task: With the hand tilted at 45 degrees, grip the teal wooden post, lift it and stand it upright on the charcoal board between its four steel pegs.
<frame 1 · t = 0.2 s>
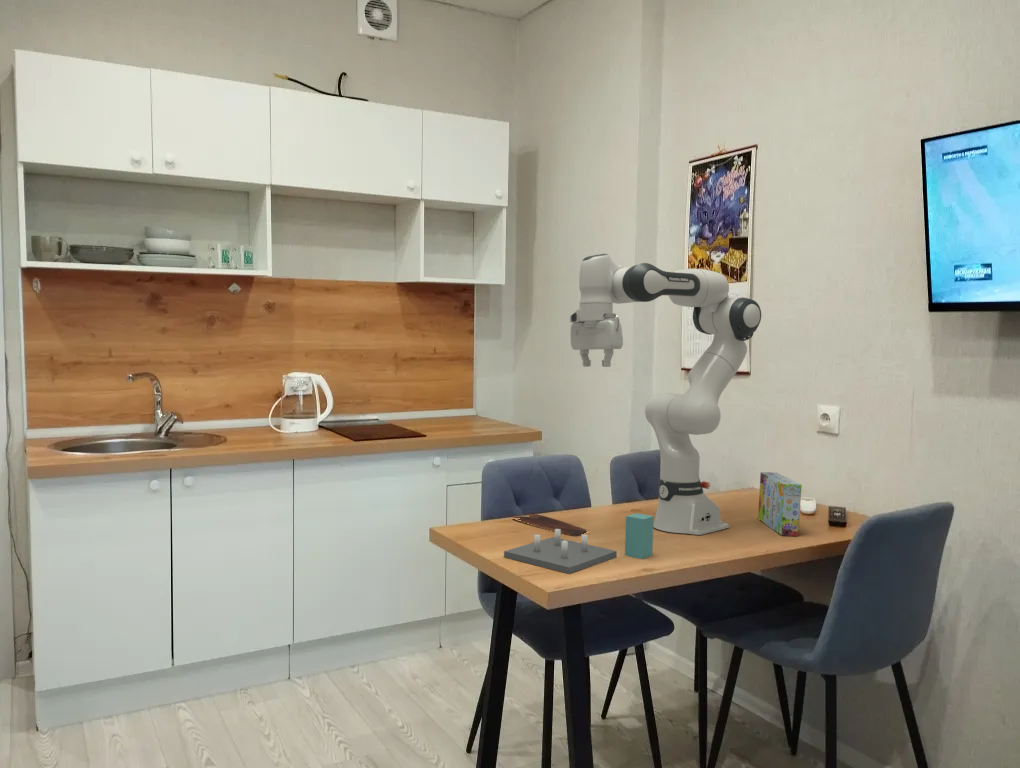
hand: (596, 366, 211), 47 cm above the table, tool pointing down, fingers open, 8 cm apart
peg board: (560, 557, 196), on the table
wooden tablet: (551, 528, 229), on the table
teal post: (638, 555, 199), on the table
snack box: (777, 528, 233), on the table
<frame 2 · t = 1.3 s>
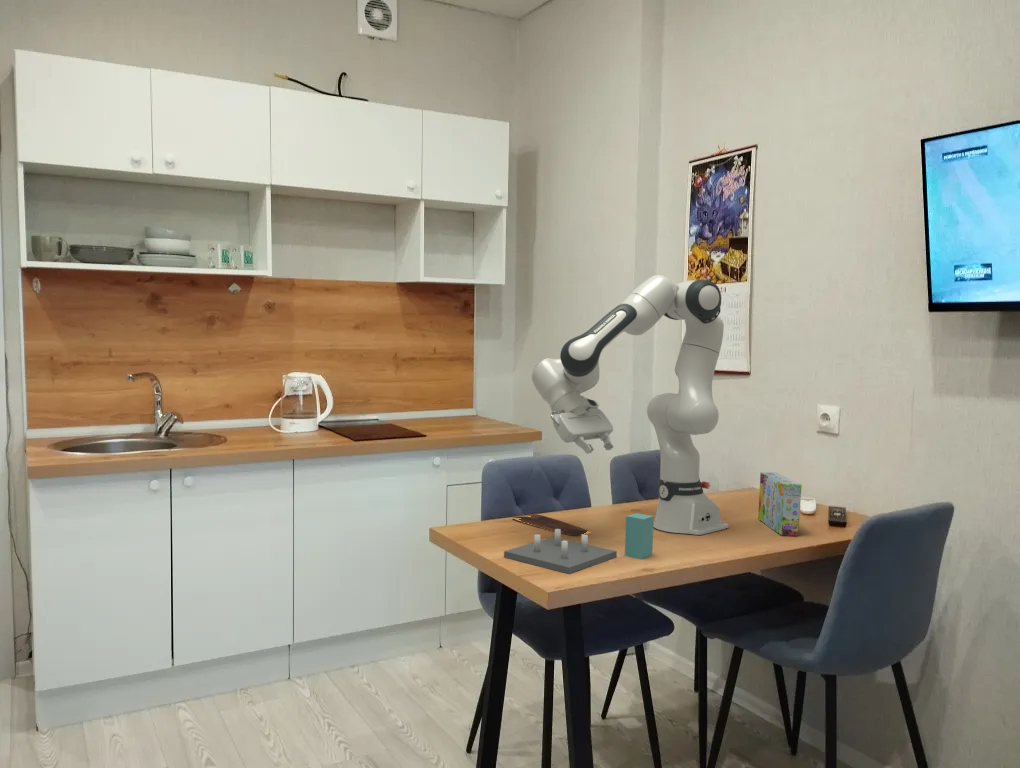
hand: (600, 450, 206), 25 cm above the table, tool tilted 45°, fingers open, 8 cm apart
nothing on the table moved.
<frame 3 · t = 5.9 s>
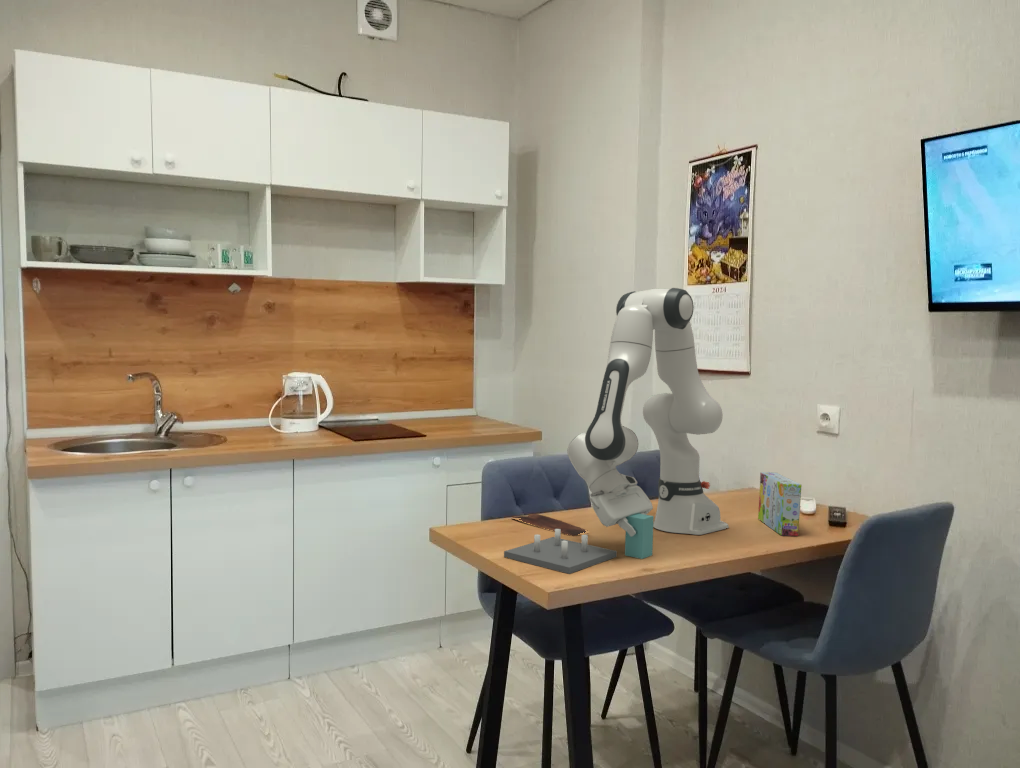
hand: (641, 532, 199), 6 cm above the table, tool tilted 45°, fingers closed on teal post, 5 cm apart
teal post: (638, 555, 199), on the table, touching gripper
everything else where it was.
when the fingers open (9 cm above the table, at t = 11.3 s): teal post drops 1 cm, resting on peg board.
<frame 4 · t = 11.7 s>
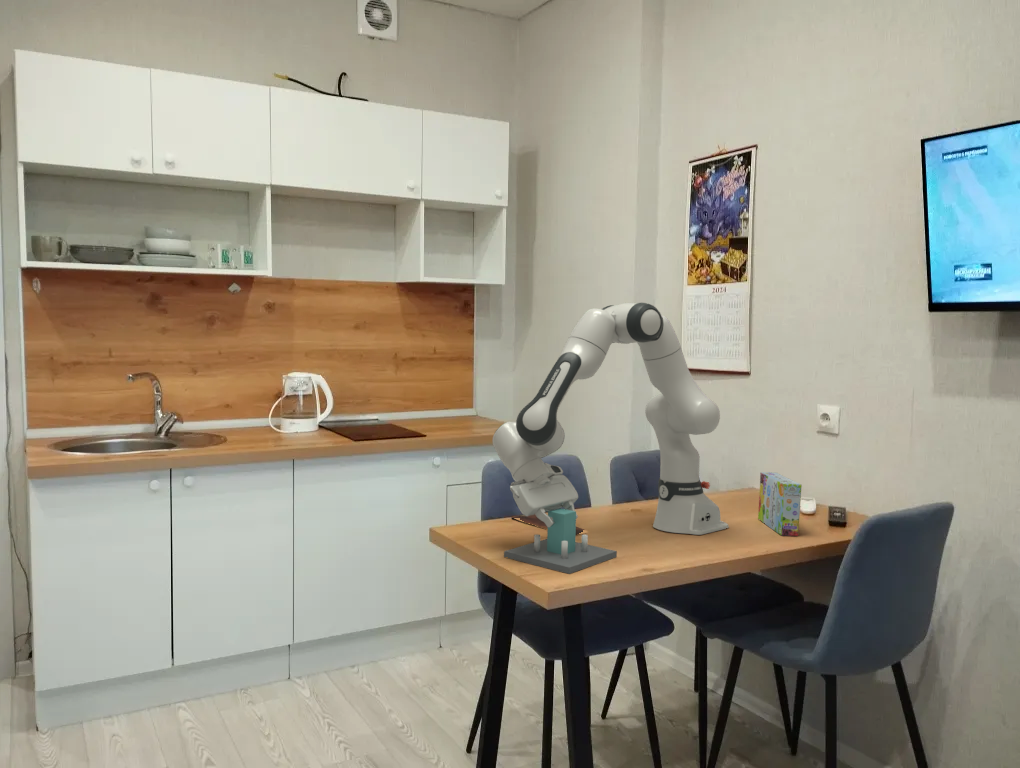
hand: (563, 522, 195), 9 cm above the table, tool tilted 45°, fingers open, 8 cm apart
teal post: (561, 551, 196), point 1 cm above the table, touching peg board
everything else where it was.
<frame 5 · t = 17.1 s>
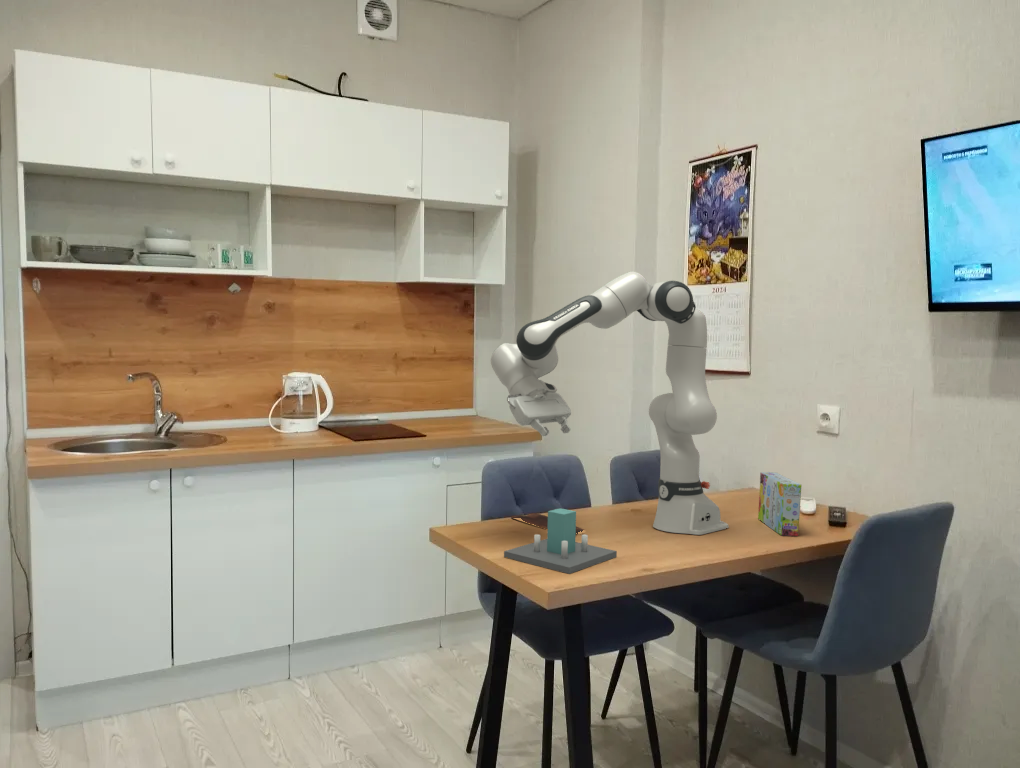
hand: (557, 433, 208), 29 cm above the table, tool tilted 45°, fingers open, 8 cm apart
at the end: teal post 0.1 cm off-centre on the peg board, point 1.5 cm above the peg board's base; teal post tilted 0°; the gripper is holding nothing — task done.
